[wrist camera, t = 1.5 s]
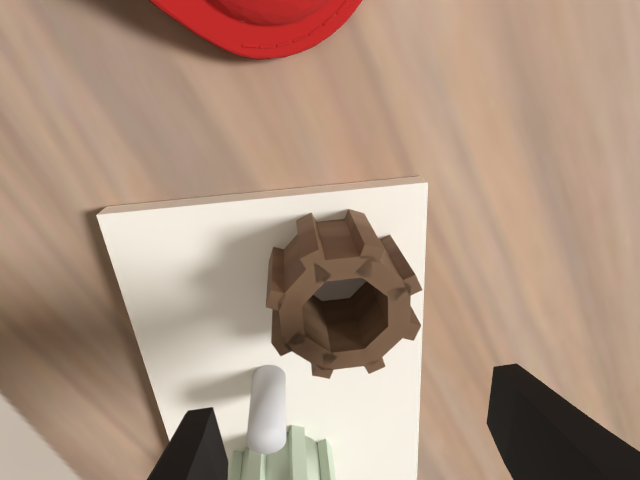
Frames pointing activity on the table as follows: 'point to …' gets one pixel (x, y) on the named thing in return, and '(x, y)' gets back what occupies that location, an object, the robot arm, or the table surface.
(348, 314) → the walnut gear
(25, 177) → the table surface
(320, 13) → the red peeler
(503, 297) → the table surface
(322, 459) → the gear board
